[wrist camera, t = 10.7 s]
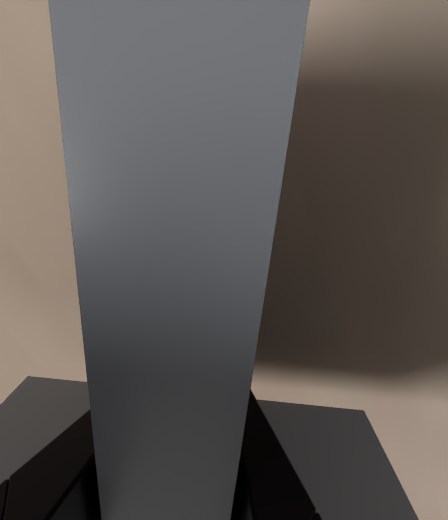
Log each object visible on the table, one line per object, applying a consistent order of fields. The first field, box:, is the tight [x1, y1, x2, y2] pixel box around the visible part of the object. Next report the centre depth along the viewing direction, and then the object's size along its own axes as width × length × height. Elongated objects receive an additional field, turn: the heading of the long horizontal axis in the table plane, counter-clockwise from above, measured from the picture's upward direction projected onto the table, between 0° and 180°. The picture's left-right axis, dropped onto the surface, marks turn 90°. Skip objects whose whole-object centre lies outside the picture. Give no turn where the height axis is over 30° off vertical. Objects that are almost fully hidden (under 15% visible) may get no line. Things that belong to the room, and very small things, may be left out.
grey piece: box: [0, 0, 419, 520], centre depth 6 cm, size 12×12×4 cm
